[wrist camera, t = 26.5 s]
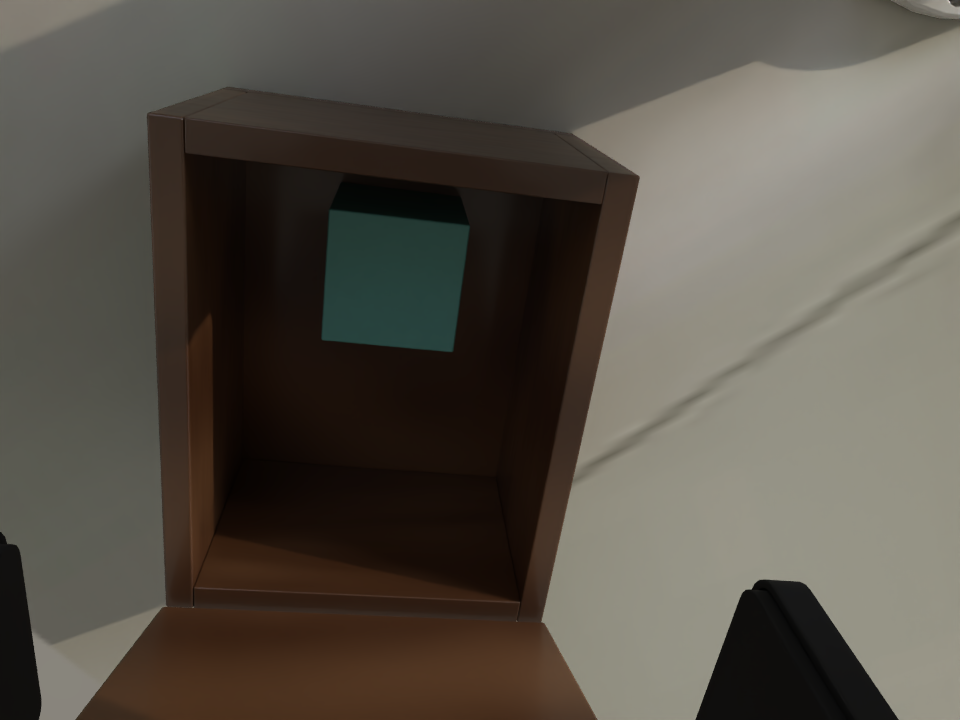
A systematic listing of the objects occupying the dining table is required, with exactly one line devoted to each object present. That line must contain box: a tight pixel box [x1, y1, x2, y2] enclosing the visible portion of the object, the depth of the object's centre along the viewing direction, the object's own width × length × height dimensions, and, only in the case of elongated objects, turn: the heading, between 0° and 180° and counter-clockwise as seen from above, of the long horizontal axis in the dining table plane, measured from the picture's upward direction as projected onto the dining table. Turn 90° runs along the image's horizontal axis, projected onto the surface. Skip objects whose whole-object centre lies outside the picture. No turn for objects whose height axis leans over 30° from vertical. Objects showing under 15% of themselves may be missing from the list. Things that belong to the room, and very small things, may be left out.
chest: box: [147, 87, 640, 623], centre depth 26 cm, size 16×13×9 cm
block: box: [321, 182, 470, 352], centre depth 26 cm, size 4×4×4 cm
